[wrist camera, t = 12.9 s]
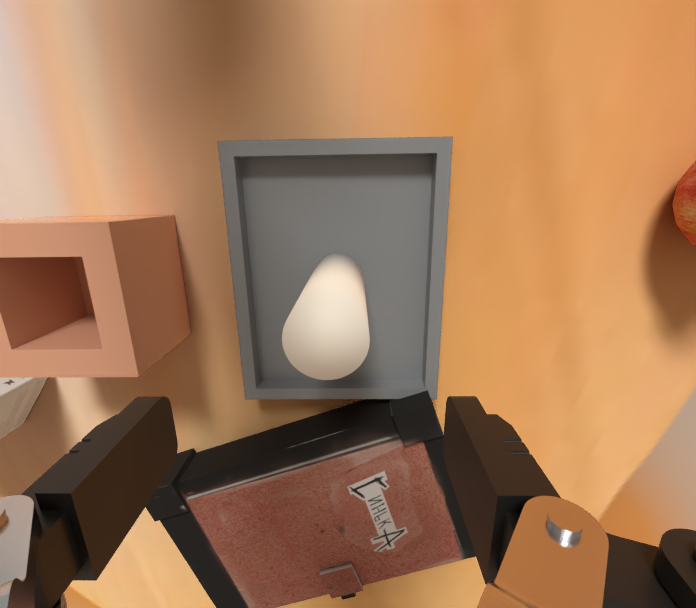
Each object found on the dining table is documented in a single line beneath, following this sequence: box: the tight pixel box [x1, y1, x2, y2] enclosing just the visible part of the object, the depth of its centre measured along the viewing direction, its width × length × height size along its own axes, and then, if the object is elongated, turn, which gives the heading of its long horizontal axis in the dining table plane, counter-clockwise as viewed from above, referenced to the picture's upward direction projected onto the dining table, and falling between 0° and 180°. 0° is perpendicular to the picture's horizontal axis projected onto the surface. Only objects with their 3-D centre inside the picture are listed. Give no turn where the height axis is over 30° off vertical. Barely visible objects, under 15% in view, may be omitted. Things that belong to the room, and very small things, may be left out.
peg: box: [282, 253, 370, 380], centre depth 23 cm, size 4×4×13 cm
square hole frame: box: [0, 215, 191, 378], centre depth 27 cm, size 10×10×8 cm
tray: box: [218, 137, 453, 399], centre depth 29 cm, size 20×16×2 cm
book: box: [145, 390, 476, 608], centre depth 34 cm, size 26×18×5 cm
